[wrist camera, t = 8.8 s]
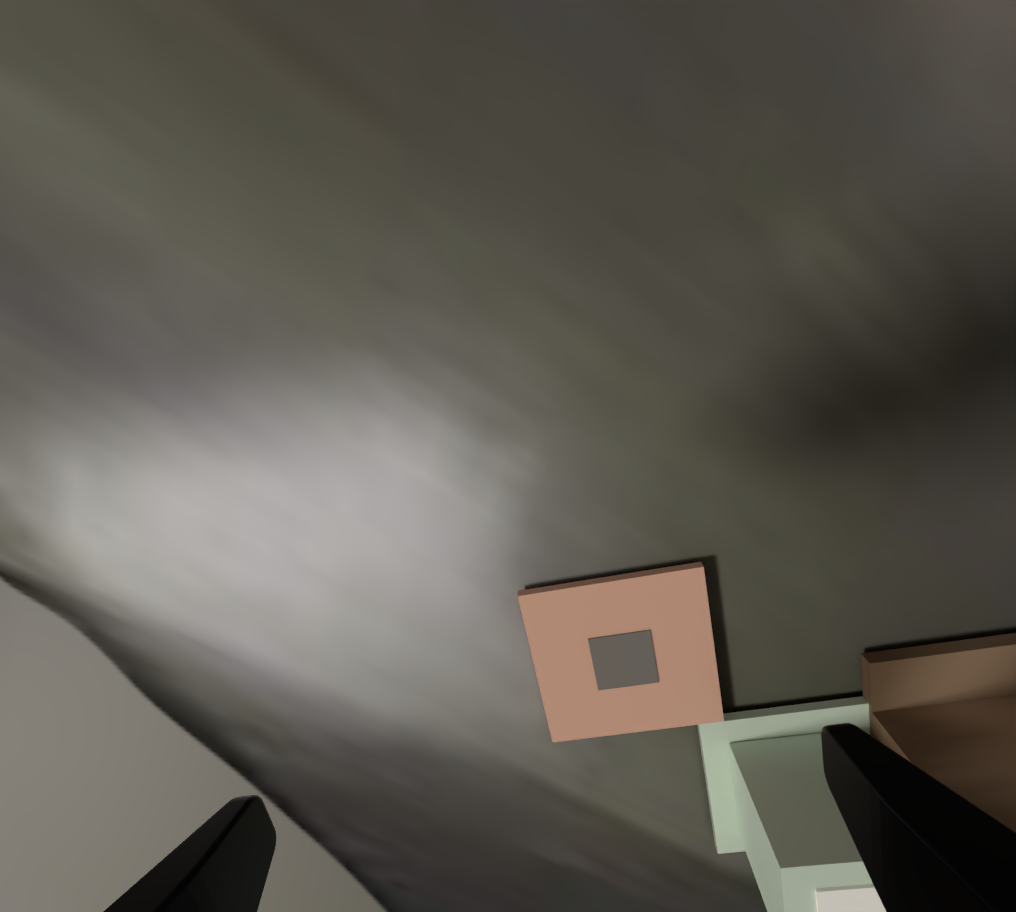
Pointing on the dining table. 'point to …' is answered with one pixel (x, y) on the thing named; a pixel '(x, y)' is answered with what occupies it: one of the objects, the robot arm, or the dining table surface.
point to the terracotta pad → (624, 652)
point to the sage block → (797, 829)
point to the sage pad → (759, 728)
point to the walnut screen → (951, 715)
